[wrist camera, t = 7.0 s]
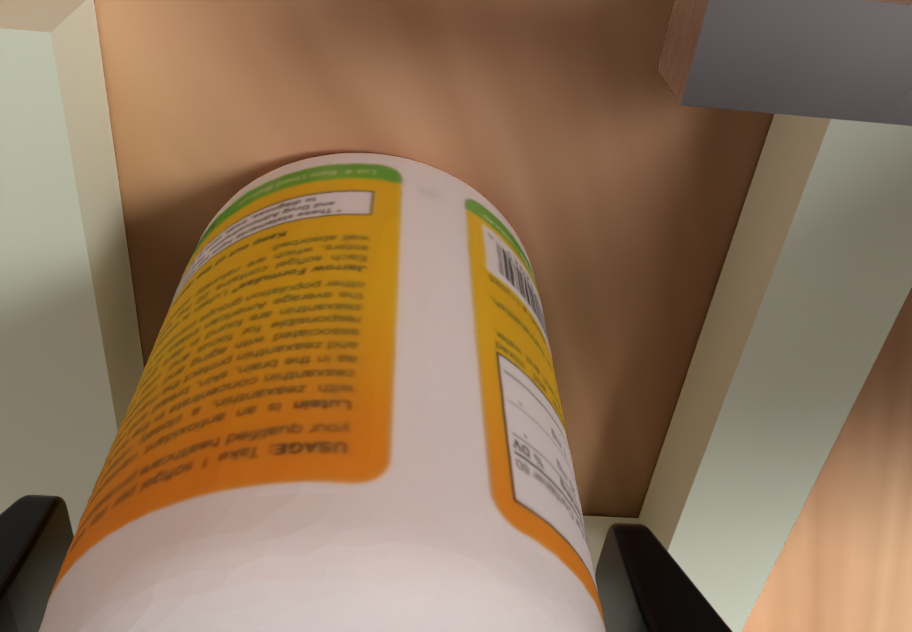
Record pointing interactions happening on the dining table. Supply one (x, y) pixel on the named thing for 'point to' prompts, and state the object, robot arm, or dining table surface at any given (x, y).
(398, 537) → the supplement bottle
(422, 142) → the dining table surface
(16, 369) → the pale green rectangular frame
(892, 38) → the door lever handle
